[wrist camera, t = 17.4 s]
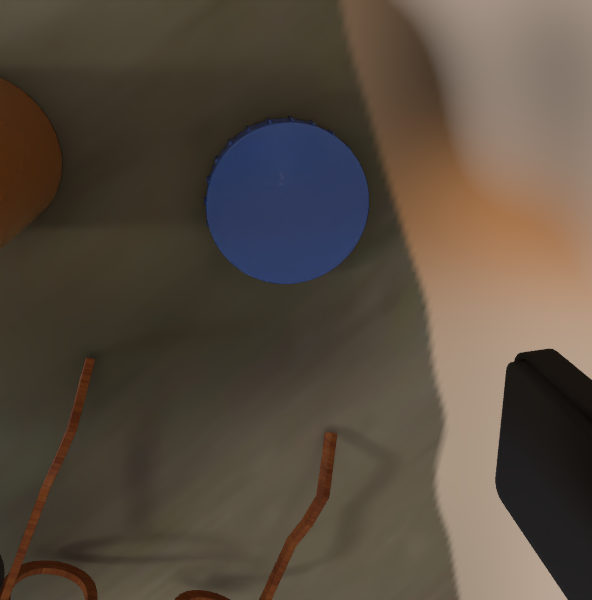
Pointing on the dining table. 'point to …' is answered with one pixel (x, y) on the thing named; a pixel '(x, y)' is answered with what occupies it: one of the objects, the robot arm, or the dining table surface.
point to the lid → (286, 201)
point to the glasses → (82, 579)
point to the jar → (25, 161)
